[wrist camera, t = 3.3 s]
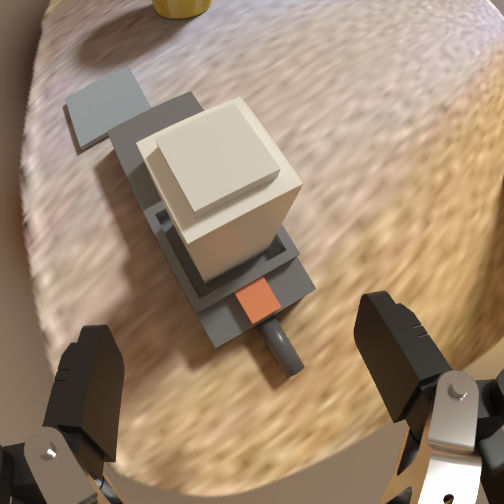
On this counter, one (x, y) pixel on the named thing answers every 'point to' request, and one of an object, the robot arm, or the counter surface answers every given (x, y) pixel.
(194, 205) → the block
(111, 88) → the pad
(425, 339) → the robot arm
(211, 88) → the counter surface
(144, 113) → the power strip
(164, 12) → the plant pot
